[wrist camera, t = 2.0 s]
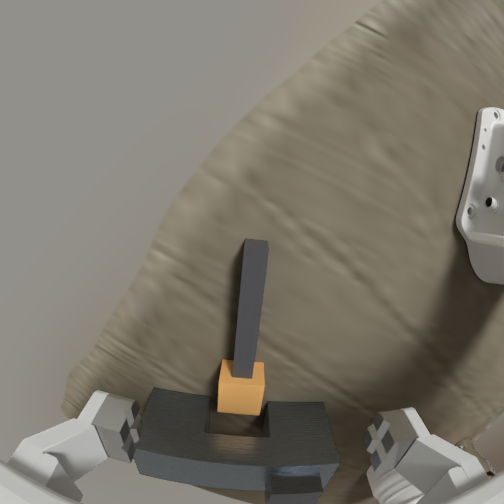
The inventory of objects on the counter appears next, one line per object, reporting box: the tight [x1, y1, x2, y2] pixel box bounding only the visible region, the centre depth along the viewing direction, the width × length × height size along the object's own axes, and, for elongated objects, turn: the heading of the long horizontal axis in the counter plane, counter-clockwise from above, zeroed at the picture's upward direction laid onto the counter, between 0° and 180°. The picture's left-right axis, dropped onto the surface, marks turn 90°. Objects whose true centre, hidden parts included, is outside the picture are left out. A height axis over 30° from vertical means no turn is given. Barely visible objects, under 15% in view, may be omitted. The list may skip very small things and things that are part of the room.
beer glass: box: [455, 437, 496, 478], centre depth 31 cm, size 7×7×15 cm
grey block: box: [133, 388, 340, 504], centre depth 26 cm, size 6×21×13 cm, turn 84°
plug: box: [217, 239, 269, 415], centre depth 27 cm, size 18×4×4 cm, turn 174°
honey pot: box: [366, 465, 425, 504], centre depth 29 cm, size 13×13×18 cm
